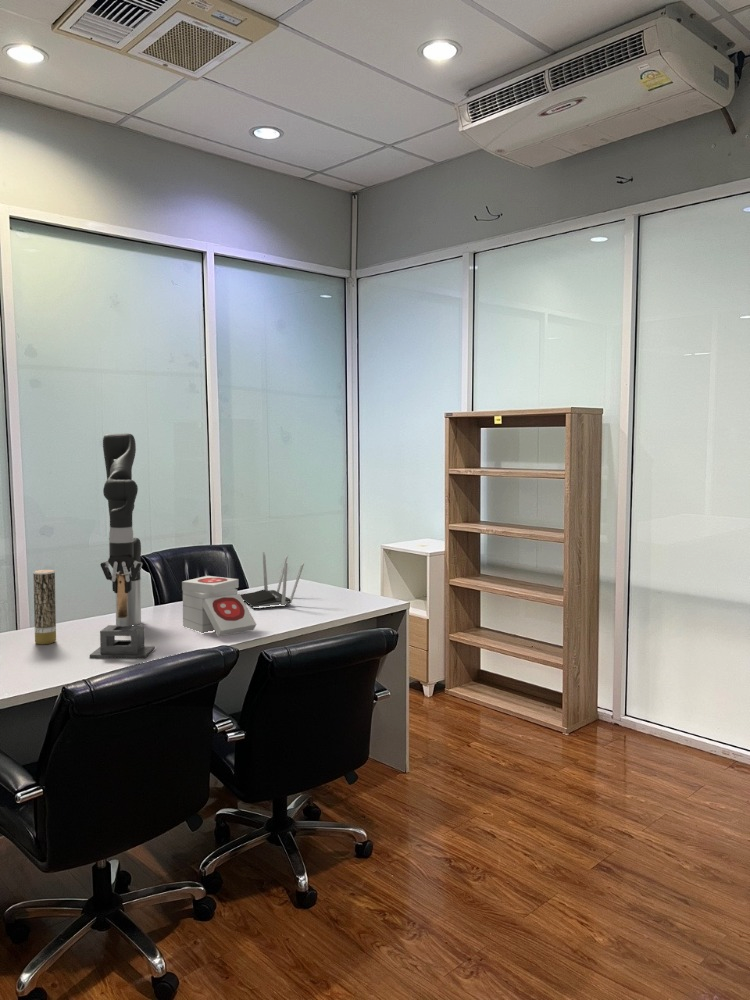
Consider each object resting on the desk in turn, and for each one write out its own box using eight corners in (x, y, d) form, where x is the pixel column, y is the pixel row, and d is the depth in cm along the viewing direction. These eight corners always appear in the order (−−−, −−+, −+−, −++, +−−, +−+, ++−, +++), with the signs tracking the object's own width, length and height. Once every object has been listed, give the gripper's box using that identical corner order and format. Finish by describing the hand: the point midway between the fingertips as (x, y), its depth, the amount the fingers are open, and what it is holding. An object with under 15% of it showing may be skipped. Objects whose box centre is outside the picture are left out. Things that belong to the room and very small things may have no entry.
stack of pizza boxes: (216, 642, 269) (216, 591, 268) (175, 626, 291) (175, 579, 290) (262, 633, 282) (262, 585, 280) (219, 619, 304) (219, 574, 303)
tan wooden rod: (119, 615, 254) (118, 573, 253) (128, 615, 254) (128, 574, 253) (115, 617, 251) (115, 575, 250) (125, 618, 251) (125, 575, 250)
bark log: (50, 638, 271) (48, 569, 269) (59, 642, 267) (58, 571, 265) (31, 642, 266) (29, 571, 264) (40, 646, 261) (39, 573, 260)
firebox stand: (101, 648, 259) (101, 624, 258) (154, 649, 259) (154, 624, 258) (89, 658, 248) (89, 632, 247) (145, 658, 248) (145, 632, 247)
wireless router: (235, 597, 346) (235, 553, 345) (284, 593, 356) (284, 551, 354) (256, 612, 316) (256, 564, 314) (308, 608, 325) (309, 561, 324)
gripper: (146, 539, 254) (146, 590, 256) (103, 538, 254) (104, 590, 256) (139, 542, 247) (140, 595, 248) (95, 541, 247) (96, 594, 248)
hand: (122, 592), depth 252 cm, fingers closed on tan wooden rod, 3 cm apart
